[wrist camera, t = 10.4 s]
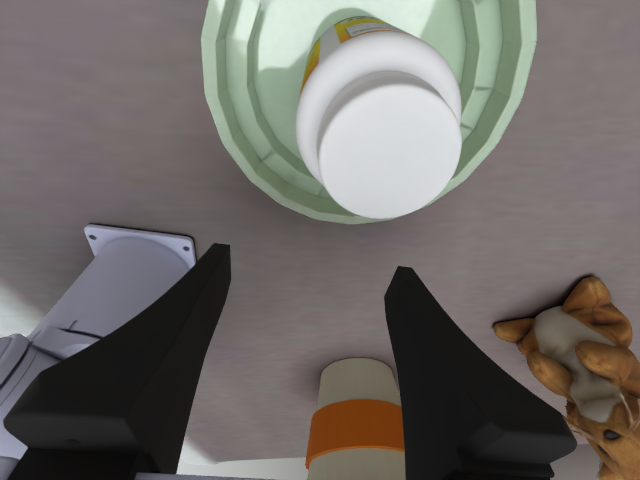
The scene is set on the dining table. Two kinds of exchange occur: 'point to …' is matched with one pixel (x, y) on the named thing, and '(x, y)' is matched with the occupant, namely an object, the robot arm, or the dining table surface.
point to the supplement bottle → (378, 118)
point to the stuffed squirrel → (588, 372)
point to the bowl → (290, 61)
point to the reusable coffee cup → (357, 424)
